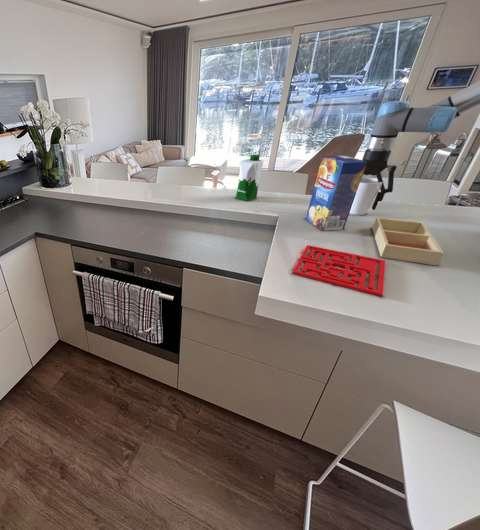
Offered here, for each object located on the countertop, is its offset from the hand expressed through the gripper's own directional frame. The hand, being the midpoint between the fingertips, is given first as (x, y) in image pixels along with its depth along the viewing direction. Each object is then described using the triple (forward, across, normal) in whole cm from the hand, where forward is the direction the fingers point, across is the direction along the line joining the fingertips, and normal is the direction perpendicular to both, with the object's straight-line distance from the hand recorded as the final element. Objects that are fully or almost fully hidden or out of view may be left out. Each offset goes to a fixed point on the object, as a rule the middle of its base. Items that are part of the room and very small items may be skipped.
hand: (357, 207), depth 117 cm
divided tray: (+2, +10, -28) cm, 30 cm away
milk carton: (+2, -44, +5) cm, 44 cm away
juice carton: (+2, -11, -18) cm, 21 cm away
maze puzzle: (+2, -7, -53) cm, 53 cm away
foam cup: (+2, 0, 0) cm, 2 cm away
